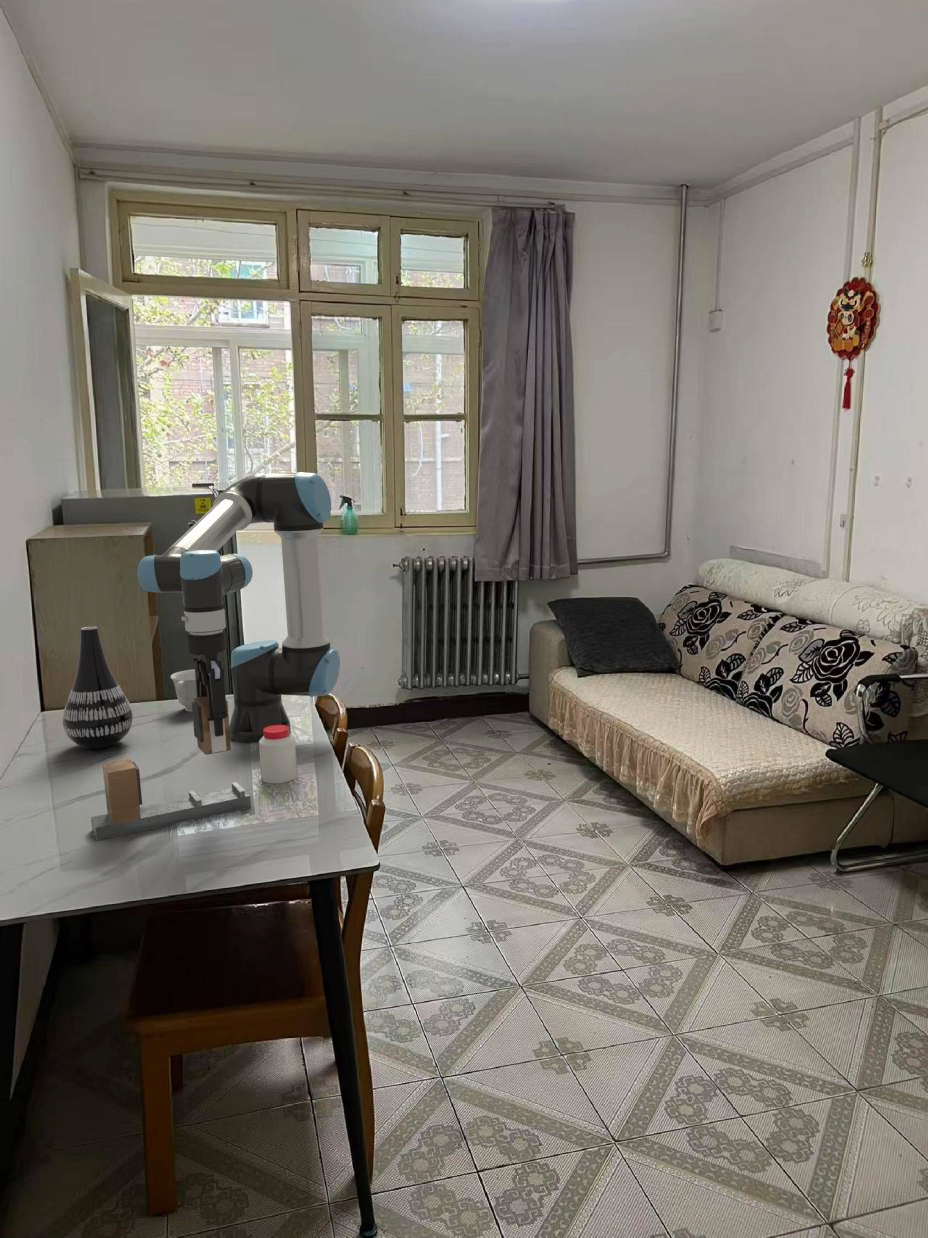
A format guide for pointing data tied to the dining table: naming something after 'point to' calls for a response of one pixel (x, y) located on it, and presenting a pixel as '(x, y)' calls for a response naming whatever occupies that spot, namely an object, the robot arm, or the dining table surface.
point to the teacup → (185, 687)
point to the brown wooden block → (206, 725)
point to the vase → (95, 699)
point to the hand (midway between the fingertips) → (214, 746)
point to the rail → (133, 818)
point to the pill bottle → (277, 755)
